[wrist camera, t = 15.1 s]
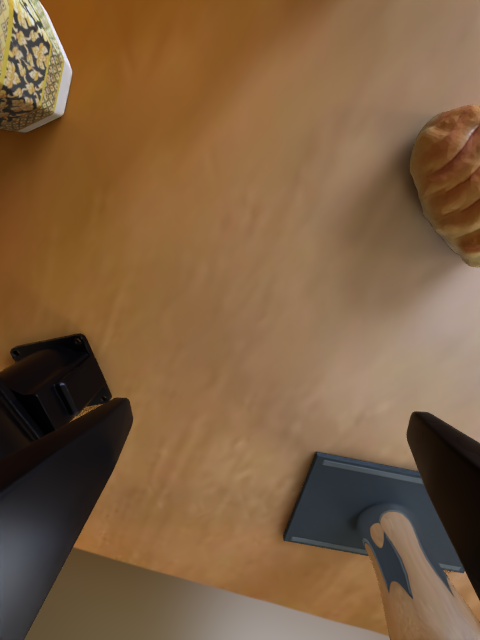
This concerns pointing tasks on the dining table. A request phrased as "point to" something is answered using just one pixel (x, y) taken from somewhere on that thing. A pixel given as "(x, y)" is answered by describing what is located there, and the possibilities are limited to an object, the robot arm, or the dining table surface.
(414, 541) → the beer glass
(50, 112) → the ceramic cup
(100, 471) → the robot arm
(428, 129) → the pastry
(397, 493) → the mat
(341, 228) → the dining table surface
